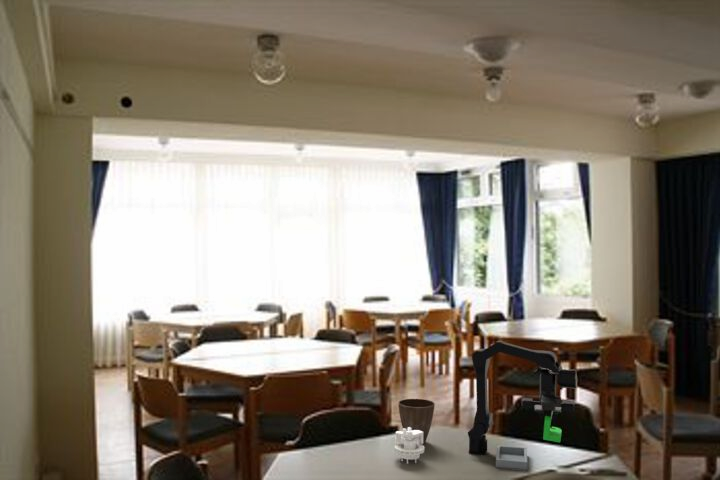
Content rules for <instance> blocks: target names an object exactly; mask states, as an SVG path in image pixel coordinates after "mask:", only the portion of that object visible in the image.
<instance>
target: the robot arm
mask: <svg viewBox="0 0 720 480" xmlns="http://www.w3.org/2000/svg"><path fill="white" fill-rule="evenodd" d="M498 353H502V354H506V355H510V356H512V357H515V358H518V359H523V360H527V361H528V362H529V361H530V362H532V363H533V364H535V365H536V366H538V367H537V369H536V370H534V373H535V374H539V401H538V400H533V398H531V397H523V398H521V409H526V410H527V409H529V410H531V409H532V408H533V407H534V411H535V412H537V414H538V415H539V417H540V420H541V424H542V428H543V429H544V422H545V416H544V411H551V414H550V416H551V425H550V428H552V427H554V426H553V425H554V423H555V420H556V417H557V416H558V414H561V413H562V409H563V410H564V412H569V413H574V412H575V410H576V409H575V406H576V405H575V403H574V401H573V400H562V397H561V396H557V385H558V386H559V387H560V388H567V389H575V390H577V388H578V376H577V369H565V368H564V369H563V367H562V366H561V364H560V363H559V361H558V357H557V355H556V353H555V352H553V351H550V350H543V349H542V350H541V349H539V350H538V349H537V350H536V349H530V348H526V347H524V346H520V345H517V344H512V343H509V342H505V341H503V340H498V341H496V342H495V343H493V344H492V345H490V346H488V347H487V348H480V349H478V350H476V351H474V352H473V353H472V355H471V361H472V366H473V369H474V372H475V383H476V384H475V386H476V387H475V389H476V412H475V415H474V419H473V426H472V427H471V429H469V430H468V432H467V436H468V443H469V444H468V453H469V454H471V455H472V454H475V455H486V454H487V452H488V439H487V435H486V434H487V433H488V432H489V430H490V429H491V428H492V426H493V425H494V419H493V418H494V412H493V413H492V412H490V410H489V402H488V399H489V397H488V370H489V367H490V362H491V358H492V357H493V356H495V355H497V354H498ZM556 384H557V385H556Z"/></svg>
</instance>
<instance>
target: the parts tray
mask: <svg viewBox="0 0 720 480" xmlns="http://www.w3.org/2000/svg"><path fill="white" fill-rule="evenodd" d="M495 469H502V470H503V469H505V470H506V469H507V470H513V471H514V470H515V471H516V470H517V471H525V472H526V471H527V472H528V450H527V447H525V446H524V447H522V446H512V445H511V446H510V445H497V446H496V453H495Z"/></svg>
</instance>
